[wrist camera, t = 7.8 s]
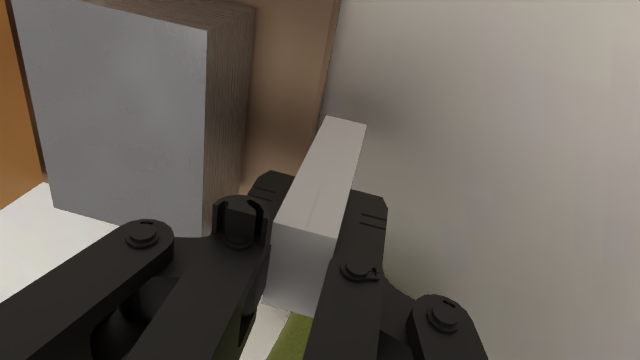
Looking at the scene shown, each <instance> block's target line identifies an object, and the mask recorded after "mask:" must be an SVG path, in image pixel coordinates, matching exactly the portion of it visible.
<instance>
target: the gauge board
mask: <svg viewBox="0 0 640 360" xmlns="http://www.w3.org/2000/svg"><path fill="white" fill-rule="evenodd" d="M222 1H226V2H230V3H235V4H239V5H243V6H248V7H252V8H255V16H254V28H253V39H252V51H251V62H250V74H249V85H248V97H247V108H246V120H245V132H244V143H243V155H242V166H241V178H240V189H239V193H238V195H246V196H247V194H248V192H249V190H250V189H251V188H252V186H253V184H254V183H255V181H256V180H257V178H258V177H259V176H260V175H262V174H264V173H266V172H267V171H269V170H273V171H277V172H281V173H284V174H288V175H292V176H296V175H297V173H298V171H299V169H300V167H301V165H302V163H303V161H304V159H305V157H306V155H307V153H308V151H309V149H310V147H311V145H312V143H313V141H314V139H315V136H316V130H317V125H318V120H319V115H320V109H321V104H322V99H323V93H324V88H325V83H326V78H327V72H328V67H329V62H330V56H331V51H332V46H333V40H334V35H335V30H336V25H337V19H338V14H339V9H340V3H341V0H222ZM5 5H6V10H7V14H8V19H9V24H10V28H11V33H12V37H13V42H14V47H15V51H16V56H17V61H18V65H19V70H20V75H21V79H22V84H23V88H24V93H25V98H26V102H27V107H28V112H29V116H30V121H31V126H32V130H33V135H34V139H35V144H36V149H37V153H38V158H39V163H40V167H41V172H42V177H43V182H45V183H49V181H48V176H47V171H46V166H45V161H44V157H43V152H42V147H41V142H40V137H39V133H38V128H37V123H36V118H35V113H34V109H33V104H32V99H31V94H30V89H29V84H28V80H27V75H26V70H25V65H24V60H23V56H22V51H21V46H20V41H19V36H18V32H17V27H16V22H15V17H14V12H13V7H12V3H11V0H5Z"/></svg>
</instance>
